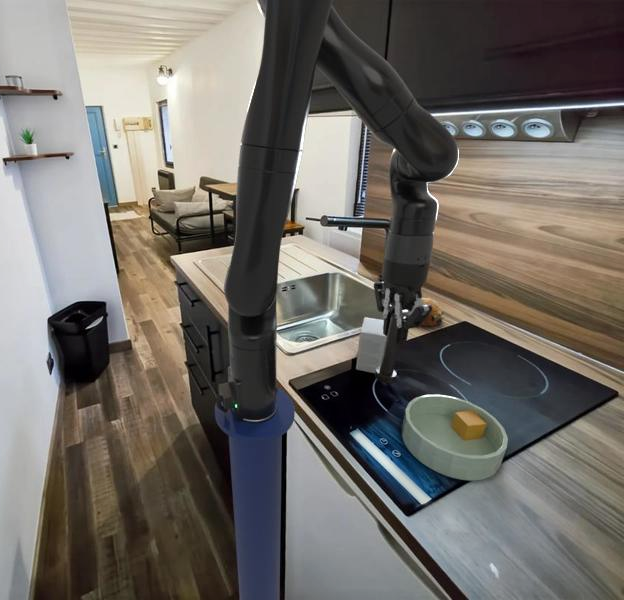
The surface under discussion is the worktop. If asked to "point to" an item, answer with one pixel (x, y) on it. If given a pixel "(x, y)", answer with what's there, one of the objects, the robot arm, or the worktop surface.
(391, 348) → the rod
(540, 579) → the worktop surface
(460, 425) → the block
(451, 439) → the bowl
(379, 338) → the small box
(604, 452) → the worktop surface
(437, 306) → the bread roll
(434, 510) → the worktop surface
